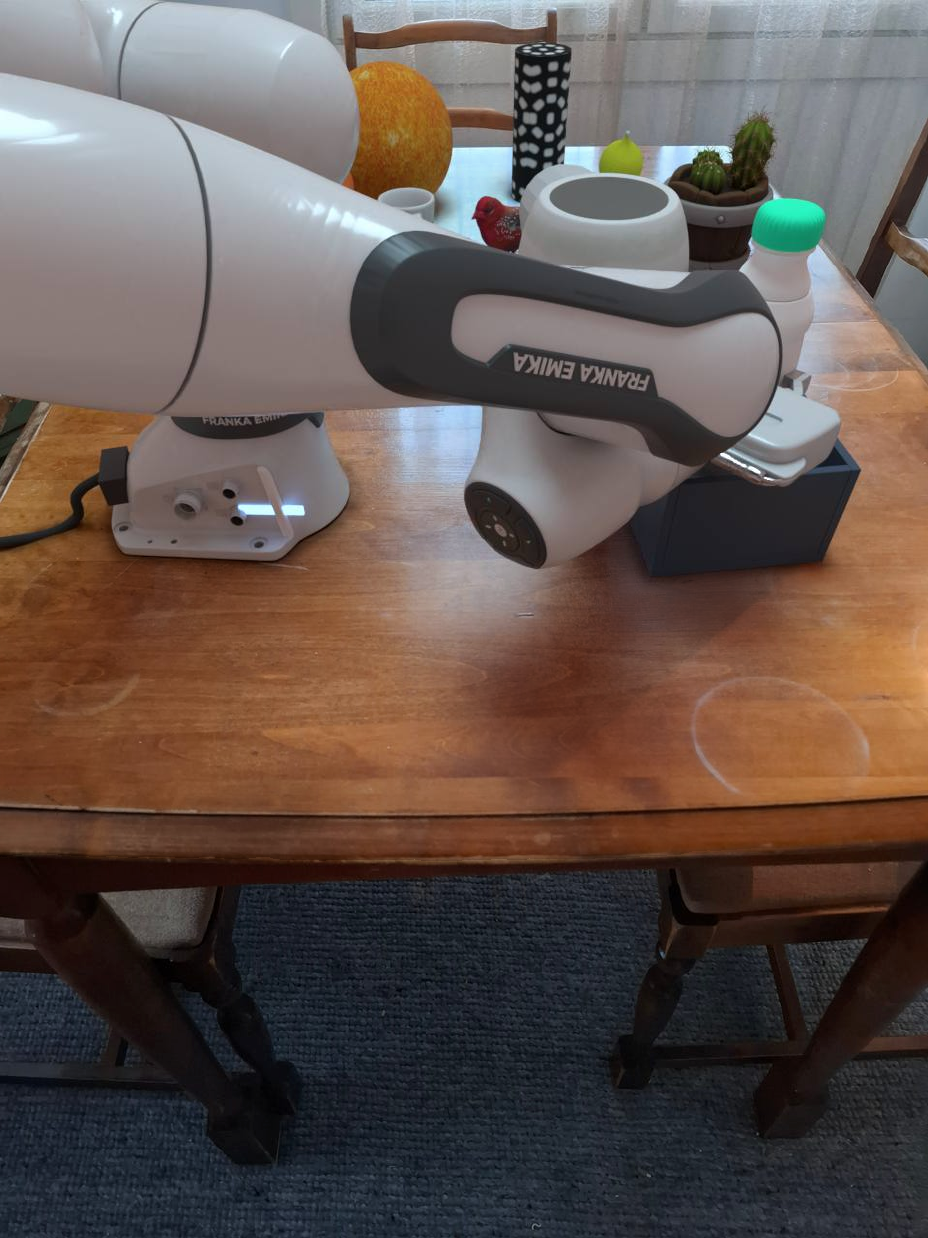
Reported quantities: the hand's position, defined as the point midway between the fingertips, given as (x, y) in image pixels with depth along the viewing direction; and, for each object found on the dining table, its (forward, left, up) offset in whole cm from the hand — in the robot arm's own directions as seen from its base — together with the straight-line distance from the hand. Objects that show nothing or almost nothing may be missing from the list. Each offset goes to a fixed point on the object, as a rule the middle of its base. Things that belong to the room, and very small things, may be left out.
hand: (754, 361), depth 65 cm
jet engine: (-7, +38, -16) cm, 41 cm away
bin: (-1, 0, -15) cm, 15 cm away
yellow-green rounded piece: (+11, +84, -16) cm, 86 cm away
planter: (-9, +18, -16) cm, 25 cm away
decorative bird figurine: (-10, +59, -16) cm, 61 cm away
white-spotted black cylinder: (-3, +83, -16) cm, 84 cm away
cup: (-25, +61, -16) cm, 67 cm away
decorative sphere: (-27, +80, -16) cm, 85 cm away
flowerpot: (+15, +52, -16) cm, 56 cm away
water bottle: (-1, -1, -13) cm, 13 cm away
